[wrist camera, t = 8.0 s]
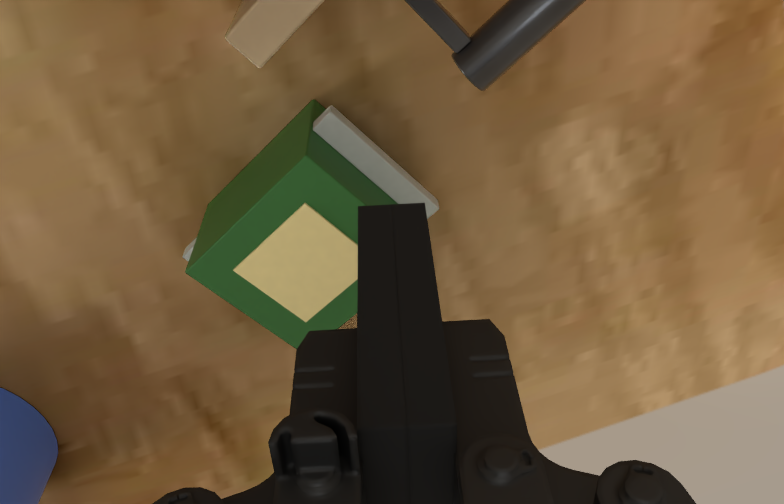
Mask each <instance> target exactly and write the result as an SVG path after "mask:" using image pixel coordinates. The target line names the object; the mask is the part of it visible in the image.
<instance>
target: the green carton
mask: <svg viewBox="0 0 784 504" xmlns="http://www.w3.org/2000/svg"><path fill="white" fill-rule="evenodd" d="M408 203H425V207H426V214H427V219H428V218H429V217H430V216H431V215H433V214H434V213H435V212H436V211H437V210H439V203H438V200H437V199H436V198H435V197H434V196H433V195H432V194H431V193H429V192H428V191H427V190H426V189H425V188H424V187H423V186H422V185H421V184H419V183H418V182H417V181H416V180H415V179H414V178H413V177H412V176H410V175H409V174H408V173H407V172H406V171H405V170H404V169H403V168H402V167H400V166H399V165H398V164H397V163H396V162H395V161H394V160H393V159H392V158H390V157H389V156H388V155H387V154H386V153H385V152H384V151H383V150H381V149H380V148H379V147H378V146H377V145H376V144H375V143H374V142H373V141H371V140H370V139H369V138H368V137H367V136H366V135H365V134H364V133H363V132H361V131H360V130H359V129H358V128H357V127H356V126H355V125H354V124H352V123H351V122H350V121H349V120H348V119H347V118H346V117H345V116H344V115H342V114H341V113H340V112H339V111H338V110H337V109H336V108H335V107H334V106H332V105H330V106H329V107H328V108H327V109H325V108H324V107H323V106H322V105H321V104H319V103H318V102H317V101H316V100H315V99H313V100H312V101H311V102H310V103H309V104H308V105H307V106H306V107H305V108H304V109H303V110H302V111H301V112H300V113H299V114H298V115H297V116H296V117H295V118H294V119H293V120H292V121H291V122H290V123H289V124H288V125H287V126H286V127H285V128H284V129H283V130H282V131H281V132H280V133H279V134H278V135H277V136H276V137H275V138H274V139H273V140H272V141H271V142H270V143H269V144H268V145H267V146H266V147H265V148H264V149H263V150H262V151H261V152H260V153H259V154H258V155H257V156H256V157H255V158H254V159H253V160H252V161H251V162H250V163H249V164H248V165H247V166H246V167H245V168H244V169H243V170H242V171H241V172H240V173H239V174H238V175H237V176H236V177H235V178H234V179H233V180H232V181H231V182H230V183H229V184H228V185H227V186H226V187H225V188H224V189H223V190H222V191H221V192H220V193H219V194H218V195H217V196H216V197H215V198H214V199H213V200H212V201H211V202H210V203H209V204H208V206H207V209H206V212H205V215H204V218H203V221H202V224H201V227H200V230H199V233H198V236H197V237H196V238H195V239H194V240H193V241H192V242H191V243H190V244H189V245H188V246H187V247H186V248H185V251H184V254H183V258H184V259H186V260H187V261H188V265H187V268H186V271H185V272H186V274H188V275H189V276H191V277H192V278H194V279H195V280H197V281H198V282H199V283H201V284H202V285H204V286H205V287H207V288H208V289H210V290H211V291H213V292H214V293H216V294H217V295H218V296H220V297H221V298H223V299H224V300H226V301H227V302H229V303H230V304H232V305H233V306H234V307H236V308H237V309H239V310H240V311H242V312H243V313H245V314H246V315H248V316H249V317H250V318H252V319H253V320H255V321H256V322H258V323H259V324H261V325H262V326H264V327H265V328H266V329H268V330H269V331H271V332H272V333H274V334H275V335H277V336H278V337H280V338H281V339H283V340H284V341H285V342H287V343H288V344H290V345H291V346H293V347H294V348H296V349H297V348H298V347H299V345H300V344H301V342H302V341H303V339H304V338H305V336H306V335H307V333H308V332H309V331H316V330H334V329H338V328H339V327H340V326H342V325H343V324H344V323H345V322H347V321H348V320H349V319H350V318H351V317H353V316H354V315H355V314H356V313H357V299H358V206H372V205H390V204H408Z"/></svg>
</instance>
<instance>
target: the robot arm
mask: <svg viewBox="0 0 784 504" xmlns="http://www.w3.org/2000/svg"><path fill="white" fill-rule="evenodd" d="M294 370H295V373H294V379H293V390H292V397H291V407H290V415H289V416H287V417H285V418H284V419H283V420H282V421H281V422H280V423H279V424H278V425H277V426H276V427H275V428H274V429H273V432H272V434H271V437H270V439H269V442H268V443H269V448H270V453H271V458H272V463H273V468H274V473H273V474H272V475H271V476H270V477H269V478H268V479H266V480H265V481H264V482H262V483H261V484H259V485H258V486H255V487H253V488H251V489H249V490H246V491H244V492H241V493H238V494H235V495H232V496H229V497H226V498H223V499H221V498H220V497H219V496H218V495H217V494H216V493H215V492H212V491H209V490H207V489H204V488H201V487H198V488H182V489H179V490H176V491H173V492H170V493H167V494H166V495H164V496H163V497H162V498H160V499H159V500H157V501H156V502H154V503H153V504H696V503H695V502H694V500H693V499H692V498H691V496H690V495H689V494H688V492H687V491H686V489H685V488H684V487H683V486H682V484H681V483H680V482H679V481H678V480H677V479H676V478H675V477H673V476H672V475H671V474H670V473H669V472H668V471H666V470H664V469H662V468H660V467H658V466H656V465H654V464H652V463H647V462H642V461H637V460H632V461H621V462H617V463H615V464H613V465H611V466H609V467H607V468H606V469H605V470H604V471H603V473H602V474H601V475H600V476H598V475H594V474H589V473H584V472H580V471H575V470H572V469H568V468H565V467H562V466H559V465H558V464H556V463H554V462H552V461H550V460H548V459H547V458H546V457H545V456H544V455H542V454H541V453H540V452H539V451H538V450H537V448H536V447H535V446H534V444H533V443H532V441H531V438H530V436H529V434H528V430H527V426H526V422H525V418H524V414H523V410H522V406H521V402H520V398H519V394H518V390H517V386H516V382H515V378H514V376H513V369H512V365H511V361H510V360H509V353H508V349H507V345H506V341H505V337H504V335H503V334H502V333H501V332H500V331H499V330H498V328H497V327H496V326H495V325H494V324H493V323H492V322H491V321H490V319H483V320H465V321H447V322H442V318H441V311H440V304H439V297H438V290H437V283H436V276H435V269H434V263H433V256H432V249H431V242H430V235H429V228H428V221H427V214H426V207H425V203H408V204H390V205H372V206H358V299H357V328H351V329H334V330H316V331H309V332H308V333H307V335H306V336H305V338H304V339H303V341H302V342H301V344H300V345H299V347H298V348H297V351H296V360H295V369H294Z"/></svg>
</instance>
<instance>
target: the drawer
mask: <svg viewBox="0 0 784 504" xmlns="http://www.w3.org/2000/svg"><path fill="white" fill-rule="evenodd" d="M324 1H325V0H242V2H241V4H240V6H239V8H238V10H237V12H236V14H235V16H234V18H233V20H232V23H231V25H230V27H229V29H228V31H227V33H226V35H225V39H226V40H227V41H228V42H229V43H230V44H231V45H232V46H233V47H235V48H236V49H237V50H238V51H239V52H240V53H241V54H243V55H244V56H245V57H246V58H247V59H248V60H249V61H251V62H252V63H253V64H254V65H255V66H256V67H258V68H261V67H263V66H264V65H265V64H266V63H267V62H268V60H269V59H270V58H271V57H272V56H273V55H274V54H275V53H276V52H277V51H278V50H279V49H280V48H281V47H282V46H283V44H284V43H285V42H286V41H287V40H288V39H289V38H290V37H291V36H292V35H293V34H294V33H295V32H296V31H297V29H298V28H299V27H300V26H301V25H302V24H303V23H304V22H305V21H306V20H307V19H308V18H309V17H310V16H311V15H312V13H313V12H314V11H315V10H316V9H317V8H318V7H319V6H320V5H321V4H322V3H323V2H324ZM405 1H406V2H407V3H408V4H409V5H410V6H411V7H412V8H413V9H414V11H415V12H416V13H417V14H418V15H419V16H420V17H421V18H422V19H423V20H424V21H425V22H426V23H427V24H428V25H429V26H430V27H431V28H432V29H433V30H434V31H435V32H436V33H437V34H438V35H439V36H440V37H441V39H442V40H443V41H444V42H445V43H446V44H447V45H448V46H449V47H450V48H451V49H452V50H453V51H454V52H453V54H452V58H453V60H454V62H455V64H456V65H457V66H458V68H459V69H460V70H461V72H462V73H463V74H464V75H465V76H466V78H467V79H468V80H469V81H470V82H471V83H472V84H473V85H474V86H475V87H477V88H478V89H479V90H481V91H485V90H486V89H487V88H488V87H490V86H491V85H492V84H493V83H494V82H495V81H496V80H497V79H499V78H500V77H501V76H502V75H503V74H504V73H505V72H506V71H507V70H509V69H510V68H511V67H512V66H513V65H514V64H515V63H516V62H518V61H519V60H520V59H521V58H522V57H523V56H524V55H525V54H527V53H528V52H529V51H530V50H531V49H532V48H533V47H534V46H535V45H537V44H538V43H539V42H540V41H541V40H542V39H543V38H544V37H546V36H547V35H548V34H549V33H550V32H551V31H552V30H553V29H555V28H556V27H557V26H558V25H559V24H560V23H561V22H562V21H563V20H565V19H566V18H567V17H568V16H569V15H570V14H571V13H572V12H574V11H575V10H576V9H577V8H578V7H579V6H580V5H581V4H583V3H584V2H585V1H586V0H509V1H508V2H507V3H506V4H505V5H503V6H502V7H501V8H500V9H499V10H498V11H497V12H496V13H495V14H494V15H493V16H492V17H491V18H490V19H489V20H487V21H486V22H485V23H484V24H483V25H482V26H481V27H480V28H479V29H478V30H477V31H476V32H475V33H474V34H473V35H471V36H469V34H468V33H467V31H466V30H465V29H464V28H463V27H462V26H461V25H460V24H459V23H458V22H457V21H456V20H455V19H454V18H453V17H452V15H451V14H450V13H449V12H448V11H447V10H446V9H445V8H444V7H443V6H442V5H441V4H440V3H439V2H438V1H437V0H405Z"/></svg>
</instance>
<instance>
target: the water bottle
mask: <svg viewBox="0 0 784 504" xmlns="http://www.w3.org/2000/svg"><path fill="white" fill-rule="evenodd" d="M57 455H58V445H57V439H56V437H55V434H54V432H53V429H52V428H51V426H50V425H49V424H48V422H47V421H46V419H45V418H44V417H43V416H42V415H41V414H40V413H39V412H38V411H37V410H36V409H35V408H34V407H33V406H31V405H30V404H28V403H27V402H26V401H24V400H23V399H21V398H20V397H18V396H16V395H14V394H13V393H11V392H9V391H7V390H5V389H3V388H0V504H38V503H39V500H40V498H41V496H42V493H43V491H44V489H45V486H46V484H47V482H48V480H49V477H50V475H51V473H52V470H53V468H54V466H55V463H56V460H57Z"/></svg>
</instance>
